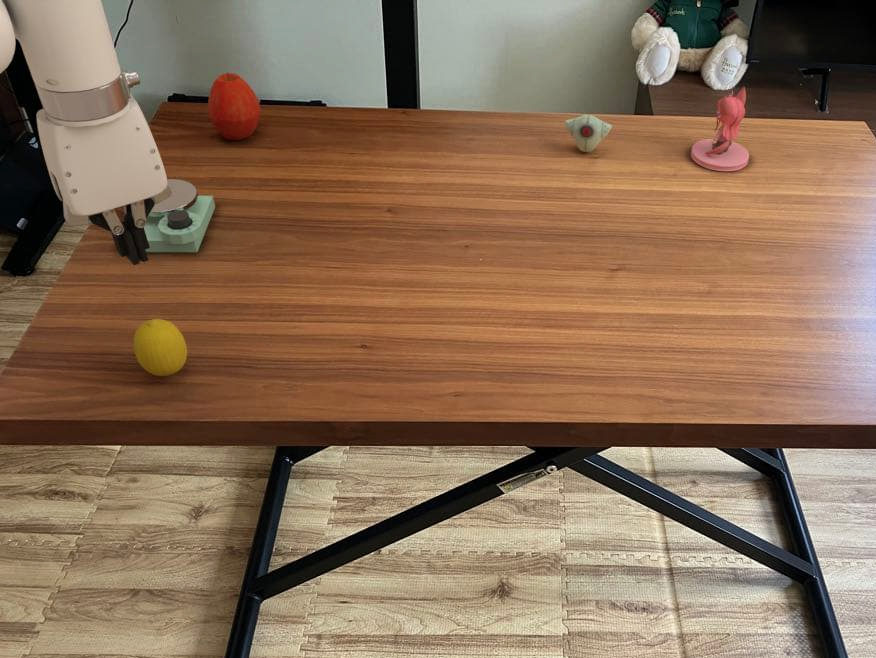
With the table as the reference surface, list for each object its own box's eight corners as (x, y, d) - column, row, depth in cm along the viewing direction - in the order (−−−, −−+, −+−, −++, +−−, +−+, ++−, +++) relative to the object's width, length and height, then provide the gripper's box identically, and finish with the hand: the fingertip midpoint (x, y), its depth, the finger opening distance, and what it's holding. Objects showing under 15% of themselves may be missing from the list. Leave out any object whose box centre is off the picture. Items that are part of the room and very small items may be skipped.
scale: (202, 255, 121) (196, 234, 118) (121, 255, 120) (114, 233, 118) (221, 206, 130) (216, 186, 128) (146, 206, 129) (140, 185, 127)
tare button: (188, 230, 119) (185, 221, 118) (167, 230, 119) (164, 220, 118) (193, 219, 122) (190, 210, 120) (172, 219, 121) (169, 210, 120)
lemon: (196, 357, 106) (180, 304, 100) (190, 387, 102) (174, 334, 96) (148, 360, 105) (129, 307, 99) (141, 391, 101) (121, 338, 95)
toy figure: (713, 138, 153) (727, 71, 144) (759, 159, 148) (775, 91, 140) (679, 155, 148) (690, 87, 139) (724, 178, 143) (739, 108, 135)
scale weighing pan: (145, 223, 120) (143, 218, 119) (121, 195, 125) (120, 190, 124) (208, 204, 124) (206, 199, 123) (183, 177, 129) (181, 172, 128)
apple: (267, 144, 144) (255, 80, 137) (215, 149, 142) (201, 86, 135) (262, 122, 150) (251, 60, 143) (212, 127, 148) (198, 64, 140)
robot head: (610, 149, 148) (614, 112, 144) (607, 161, 145) (612, 123, 141) (563, 144, 149) (566, 106, 144) (560, 155, 146) (563, 117, 141)
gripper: (146, 63, 88) (187, 221, 101) (-13, 99, 81) (53, 264, 93) (177, 90, 84) (216, 250, 97) (12, 130, 77) (78, 298, 89)
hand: (136, 257), depth 95 cm, fingers closed
